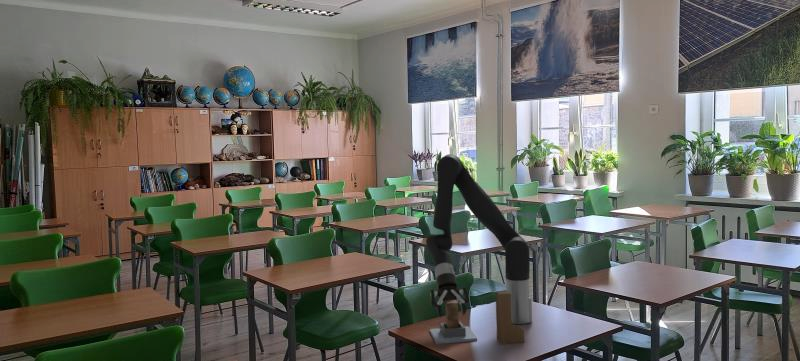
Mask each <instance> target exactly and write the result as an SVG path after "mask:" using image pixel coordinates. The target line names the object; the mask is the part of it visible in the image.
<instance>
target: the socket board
mask: <svg viewBox="0 0 800 361" xmlns="http://www.w3.org/2000/svg"><path fill="white" fill-rule="evenodd" d="M458 325H459V328H449V329H446V322H440V323H439V328H430V329H429V333H430V335H431V336H432V339H433V341H434V343H435V344H436V345H441V344H451V343H453V344H454V343H466V342H467V343H469V342H477V341H478V337H477V336H476V335H475V333H474V332H473V331H472V330H471V328H470V326H468V325H467V326H465V325H464V324H463V323H462V321H458Z"/></svg>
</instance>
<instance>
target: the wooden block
mask: <svg viewBox="0 0 800 361" xmlns="http://www.w3.org/2000/svg"><path fill="white" fill-rule="evenodd" d="M495 319H496V320H495V322H496V323H495V324H496V340H497V341H498V343H499V344H500V345H502V344H503V345H504V344H516V343H517V344H518V343H519V344H520V343H525V330H524V328H522V327H521V325H520V326H519V325H514V324H513V323H512V316H511V294H510V293H509V292H508V291H506V290H499V291H497V290H496V291H495Z"/></svg>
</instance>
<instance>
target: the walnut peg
mask: <svg viewBox="0 0 800 361" xmlns="http://www.w3.org/2000/svg"><path fill="white" fill-rule="evenodd" d="M444 303H445V310H444V311H445V323H446V329H449V328H459V325H458V322H459V303H458V302H457V301H456V300H446V301H444Z"/></svg>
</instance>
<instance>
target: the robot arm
mask: <svg viewBox="0 0 800 361" xmlns="http://www.w3.org/2000/svg"><path fill="white" fill-rule="evenodd" d="M436 169H437V170H436V171H437V192H436V200H435V206H434V214H433V221H432V223H433V224H432V226H433V228H435V229H437V230H440V231H442V232H443V233H430V234H428V235H427V237H426V240H425V244H426V248H427V251H428V252H429V254H430V256H431V259H432V260H433V264H434V272H435V273H434V274H435V281H436V287H437V290H434V289H431V290H430V294H429V296H430V298H429V299H430V306H431V308H436V312H437V316H439V317H440V318H441V317H443V312H442V304H443V303H444V302H445V301H446V300H456V301H457V302H458V305H460V310H461V311H460V312H461V315H462V316H465V314H466V312H467V308H466V306H468V305H469V304H470V298H469V294H468V291H467V288H466V287H463V288H462V289H461V288H460V289H459V288H458V285H457V277H456V274H455V269H454V266H453V262H452V261H453V260H452V257H451V254H449V251H450V250H452V247H453V238H452V232H451V231H452V230H451V223H452V218H453V217H452V216H453V195H454V187H455V186H456V188H457V190H459V192H460V195H461V196H462V198H463V200H464V202H465V204H466V206H467V208H468V209H469V210H470V211H471V213H472V214H473V216H475V218H476V219H477V220H478V221H479V223H481V224H482V225H483V226H484V227H485V228H486V229H488V230H489V232H490V233H492V234H493V235H494V236H495V238H496V239H497V240H498V242H499V243H500V245H501V246H502V248H503V249H504V259H505V291H508V292H509V293H510V294H511V316H512V324H513V325H526V324H529V323H533V306H532V305H533V304H532V302H533V300H532V297H531V295H530V294H531V291H530V289H531V288H530V272H531V271H530V269H531V268H530V248H529V244H528V243H527V241H526V240H525V239H524V238H523V237H522V236H521V235H520V234H519V233H518V232H517V231H516V230H515V229H514V228H513V227H512V225H510V223H509V222H508V220H507V219H506V218H505V216H504V214H503V213H502V212H501V210H500V209H499V207H498V206H497V204H496V203H495V201H494V200H493V199H492V198H491V197H490V195H488V194H487V192H486V191H485V190H484V189H483V188H482V187H481V186H480V185H479V184H478V182H476V180H475V179H474V178H473V176H471V174H470V172H469V171H468V169H467V168H466V167H465V165H464V163H463V161H462V160H461V159H460V157H458V156H457V155H456V154H446V155H444V156H442V157H441V158H440V159H439V160H438V162H437V164H436ZM460 294H461V295H460ZM436 296H438V297H439V299H438V301H437V302H436ZM461 296H462V297H463V298H462V297H461Z"/></svg>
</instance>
